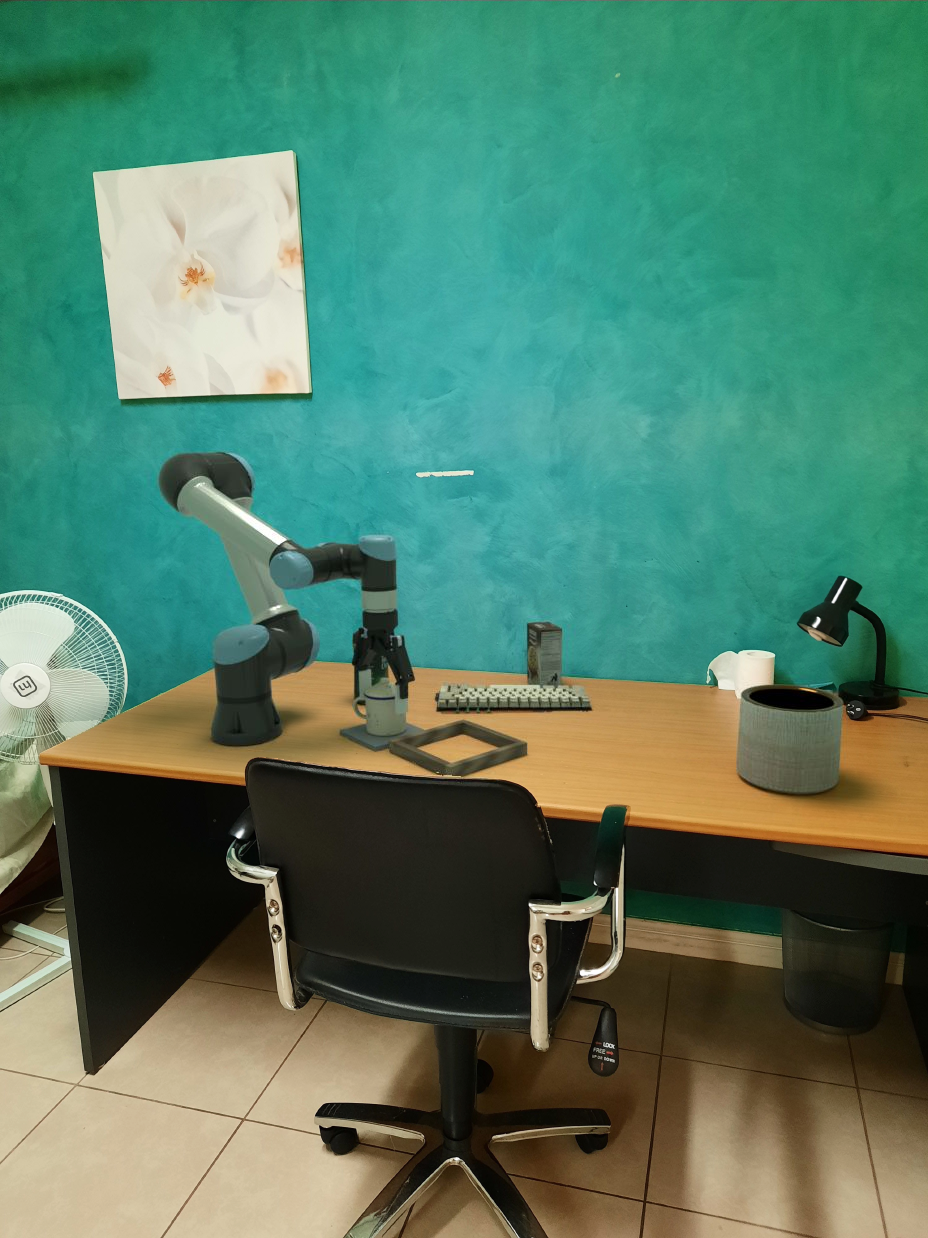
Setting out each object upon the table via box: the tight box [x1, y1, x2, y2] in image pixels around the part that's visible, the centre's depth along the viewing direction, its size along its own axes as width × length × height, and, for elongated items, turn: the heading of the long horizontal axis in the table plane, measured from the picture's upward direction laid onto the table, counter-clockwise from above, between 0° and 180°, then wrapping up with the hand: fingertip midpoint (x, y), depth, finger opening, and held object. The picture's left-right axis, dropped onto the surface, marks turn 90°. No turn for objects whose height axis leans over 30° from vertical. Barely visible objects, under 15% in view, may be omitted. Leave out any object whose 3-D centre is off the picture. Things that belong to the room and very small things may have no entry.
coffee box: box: [526, 621, 563, 690], centre depth 217 cm, size 9×6×16 cm
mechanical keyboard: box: [434, 682, 594, 715], centre depth 206 cm, size 38×19×3 cm, turn 90°
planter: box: [735, 684, 844, 795], centre depth 155 cm, size 18×18×16 cm
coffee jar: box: [351, 630, 390, 705], centre depth 207 cm, size 10×8×19 cm
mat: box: [339, 722, 425, 752], centre depth 182 cm, size 14×14×1 cm
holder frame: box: [388, 719, 528, 777], centre depth 171 cm, size 20×20×2 cm
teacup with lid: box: [352, 677, 407, 736], centre depth 182 cm, size 12×9×12 cm
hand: (383, 705), depth 181 cm, fingers open, 13 cm apart
